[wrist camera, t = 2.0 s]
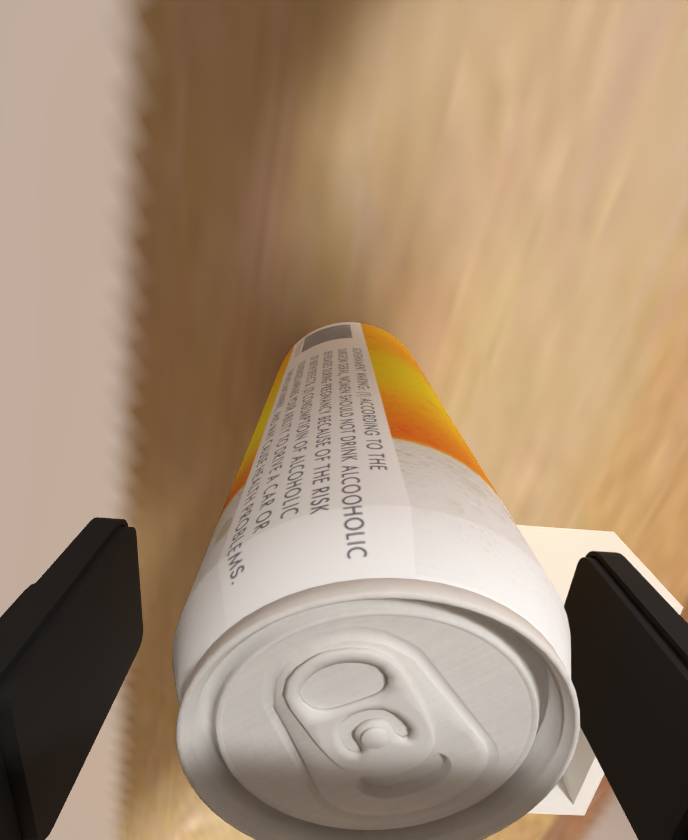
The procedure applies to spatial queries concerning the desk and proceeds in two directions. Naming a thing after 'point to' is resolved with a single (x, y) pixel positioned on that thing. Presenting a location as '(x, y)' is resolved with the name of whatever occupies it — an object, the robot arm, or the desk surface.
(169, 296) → the desk surface
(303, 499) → the beer can
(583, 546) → the socket box
